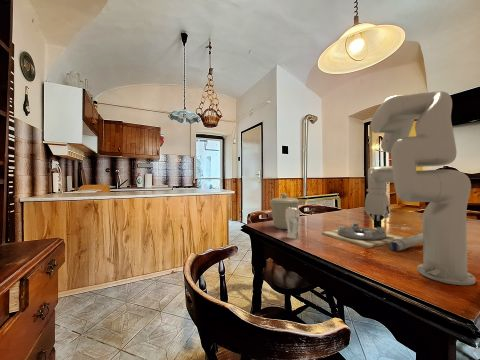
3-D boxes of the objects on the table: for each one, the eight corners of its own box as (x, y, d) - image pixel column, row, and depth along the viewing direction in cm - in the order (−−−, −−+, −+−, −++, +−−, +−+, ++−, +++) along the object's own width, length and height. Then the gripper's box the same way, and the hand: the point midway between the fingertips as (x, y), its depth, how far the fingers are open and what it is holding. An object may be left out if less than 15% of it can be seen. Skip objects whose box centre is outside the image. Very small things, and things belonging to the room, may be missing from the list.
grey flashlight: (386, 239, 89) (428, 225, 96) (388, 255, 89) (429, 240, 97) (399, 243, 84) (442, 228, 91) (401, 260, 84) (443, 243, 92)
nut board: (367, 248, 90) (367, 245, 90) (321, 234, 114) (321, 231, 114) (405, 239, 100) (405, 237, 100) (356, 228, 124) (356, 226, 124)
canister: (268, 224, 141) (267, 192, 141) (296, 224, 140) (295, 191, 140) (271, 231, 123) (270, 194, 123) (303, 230, 122) (302, 193, 122)
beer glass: (283, 236, 112) (282, 207, 112) (294, 235, 114) (293, 206, 114) (291, 240, 105) (290, 209, 105) (302, 238, 108) (302, 208, 107)
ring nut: (344, 239, 99) (344, 231, 99) (333, 228, 120) (333, 222, 120) (395, 240, 95) (395, 232, 95) (375, 229, 116) (374, 222, 116)
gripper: (358, 191, 114) (358, 225, 114) (387, 193, 100) (387, 232, 100) (368, 190, 116) (368, 223, 117) (397, 192, 103) (397, 230, 103)
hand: (377, 227), depth 109 cm, fingers closed
